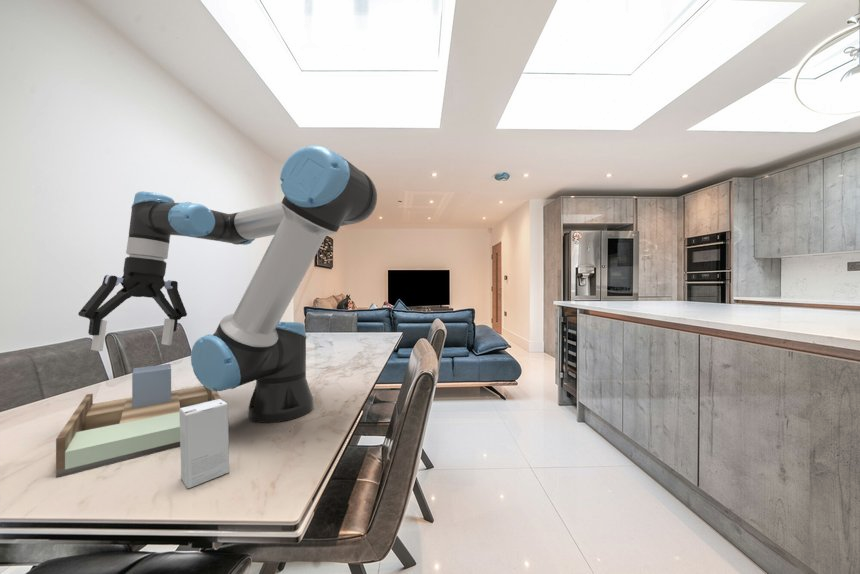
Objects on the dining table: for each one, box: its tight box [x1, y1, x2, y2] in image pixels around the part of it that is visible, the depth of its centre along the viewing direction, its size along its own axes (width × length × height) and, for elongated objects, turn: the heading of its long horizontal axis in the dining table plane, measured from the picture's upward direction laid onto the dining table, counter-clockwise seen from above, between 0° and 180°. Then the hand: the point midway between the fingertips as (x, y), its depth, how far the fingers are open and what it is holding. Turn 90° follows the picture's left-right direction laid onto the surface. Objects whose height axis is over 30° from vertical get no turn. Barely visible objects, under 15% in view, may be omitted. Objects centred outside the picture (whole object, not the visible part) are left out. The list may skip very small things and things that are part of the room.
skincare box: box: [179, 398, 230, 489], centre depth 54 cm, size 6×4×12 cm
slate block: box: [131, 363, 172, 409], centre depth 79 cm, size 7×7×8 cm
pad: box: [65, 412, 180, 469], centre depth 66 cm, size 10×22×3 cm, turn 130°
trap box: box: [55, 385, 222, 479], centre depth 73 cm, size 30×24×6 cm
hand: (134, 347), depth 76 cm, fingers open, 13 cm apart
